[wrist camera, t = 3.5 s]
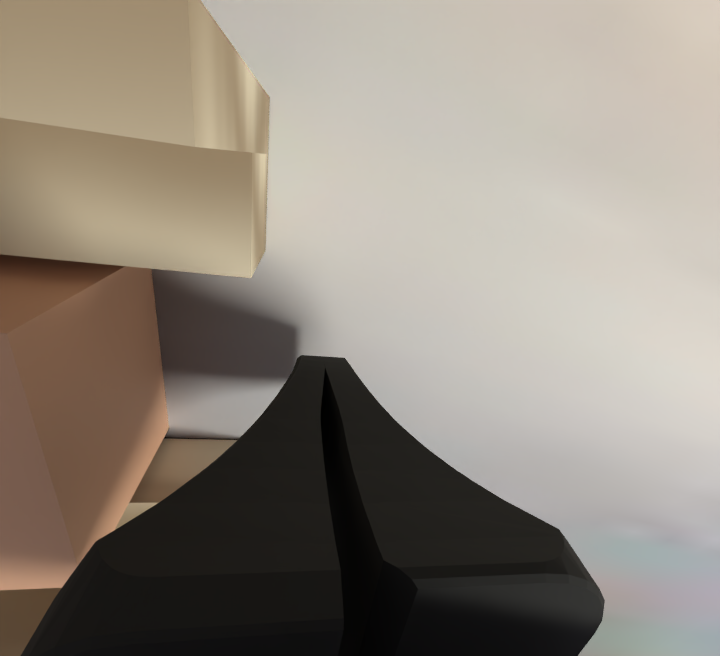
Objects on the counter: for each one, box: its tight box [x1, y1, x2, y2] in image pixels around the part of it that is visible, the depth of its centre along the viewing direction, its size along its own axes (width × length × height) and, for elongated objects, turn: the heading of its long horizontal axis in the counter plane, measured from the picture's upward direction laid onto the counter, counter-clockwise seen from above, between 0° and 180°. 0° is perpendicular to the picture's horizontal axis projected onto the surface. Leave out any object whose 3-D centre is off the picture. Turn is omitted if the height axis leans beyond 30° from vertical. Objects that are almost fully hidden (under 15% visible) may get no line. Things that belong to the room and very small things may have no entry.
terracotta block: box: [0, 254, 169, 590], centre depth 8 cm, size 6×4×5 cm, turn 172°
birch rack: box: [0, 0, 270, 656], centre depth 8 cm, size 14×10×6 cm
